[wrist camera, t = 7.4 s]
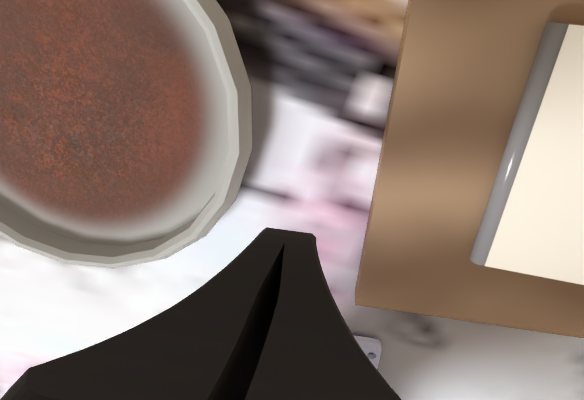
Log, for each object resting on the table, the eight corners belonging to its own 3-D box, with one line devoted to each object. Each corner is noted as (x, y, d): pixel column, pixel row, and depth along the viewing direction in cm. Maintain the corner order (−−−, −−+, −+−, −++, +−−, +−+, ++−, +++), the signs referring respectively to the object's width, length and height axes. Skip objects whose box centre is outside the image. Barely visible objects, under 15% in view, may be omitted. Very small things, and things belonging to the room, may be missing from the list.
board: (668, 334, 22) (684, 352, 21) (355, 289, 23) (355, 304, 22) (942, -85, 14) (992, -91, 13) (430, -120, 15) (436, -128, 14)
